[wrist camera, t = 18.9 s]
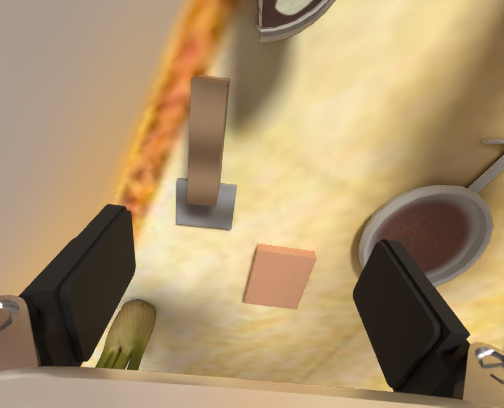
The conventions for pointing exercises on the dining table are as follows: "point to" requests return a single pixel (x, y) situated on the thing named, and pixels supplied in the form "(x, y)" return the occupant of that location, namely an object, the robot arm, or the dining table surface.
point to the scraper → (206, 158)
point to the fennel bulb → (128, 336)
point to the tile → (279, 276)
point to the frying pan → (436, 225)
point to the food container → (287, 17)
